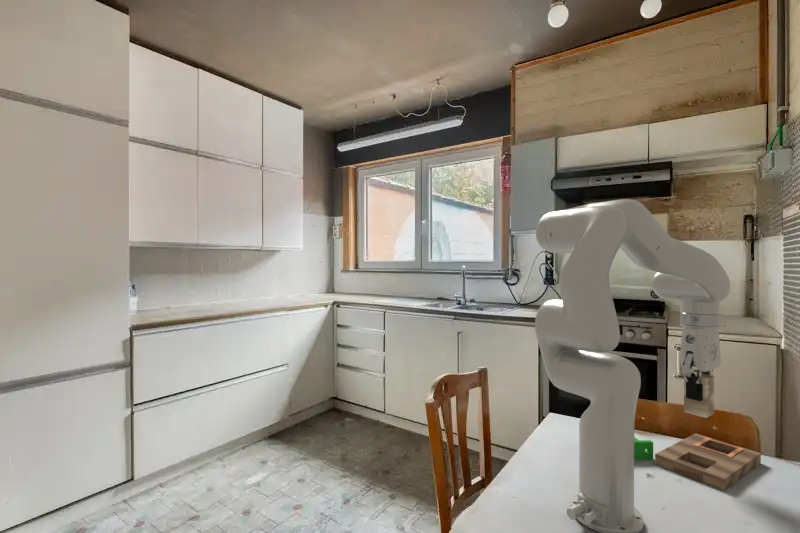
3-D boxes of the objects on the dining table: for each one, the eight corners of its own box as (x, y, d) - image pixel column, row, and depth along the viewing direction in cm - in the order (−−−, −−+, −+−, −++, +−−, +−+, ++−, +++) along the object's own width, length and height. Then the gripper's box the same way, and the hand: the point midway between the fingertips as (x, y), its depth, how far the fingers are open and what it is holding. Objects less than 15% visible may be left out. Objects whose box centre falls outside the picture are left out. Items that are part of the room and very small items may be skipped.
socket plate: (724, 490, 89) (724, 478, 89) (655, 464, 100) (655, 453, 100) (760, 463, 101) (760, 452, 101) (695, 442, 112) (695, 432, 112)
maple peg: (705, 418, 94) (706, 378, 94) (683, 412, 98) (683, 374, 98) (714, 414, 97) (714, 375, 97) (692, 408, 101) (692, 371, 101)
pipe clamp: (644, 453, 107) (644, 435, 106) (653, 460, 103) (653, 442, 103) (601, 452, 107) (601, 435, 107) (608, 459, 103) (608, 441, 103)
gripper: (702, 325, 90) (701, 409, 90) (732, 319, 99) (732, 395, 99) (664, 321, 96) (664, 399, 96) (696, 316, 105) (696, 387, 105)
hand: (699, 396), depth 98 cm, fingers closed on maple peg, 4 cm apart
